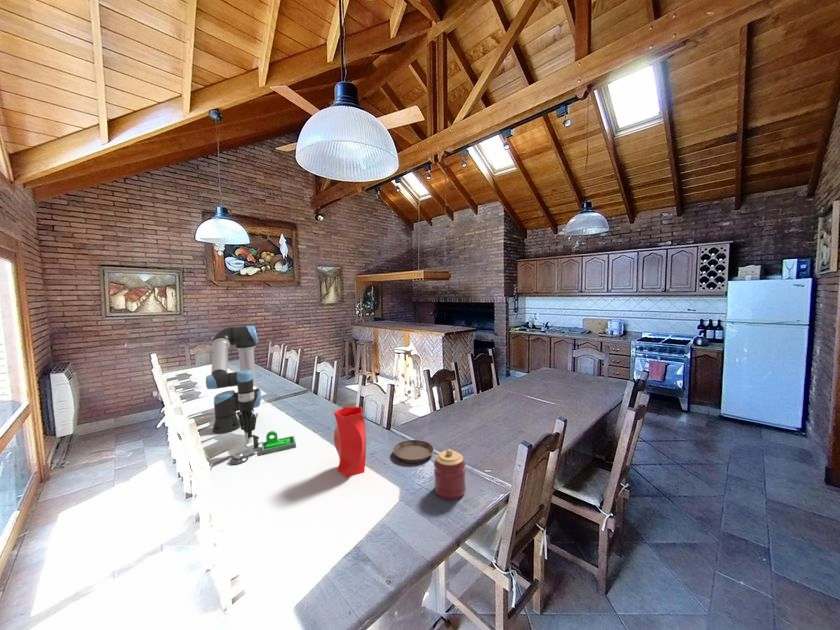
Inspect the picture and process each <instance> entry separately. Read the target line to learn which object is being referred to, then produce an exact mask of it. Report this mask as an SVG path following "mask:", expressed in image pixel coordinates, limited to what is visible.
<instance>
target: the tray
mask: <svg viewBox="0 0 840 630" xmlns="http://www.w3.org/2000/svg"><path fill="white" fill-rule="evenodd" d="M288 438H290V444H287V445H282V446H277V447H273V448H268V449H266V445H267V442H266V441H263V442H261V453H262V455H263V456H264V455H268V454H272V453H277V452H280V451H286V450H290V449H295V448H297V442H296V438H295V435H292V436H291V435H290V436H285V437H282V438H278V440H283V439H288Z"/></svg>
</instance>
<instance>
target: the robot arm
mask: <svg viewBox="0 0 840 630" xmlns="http://www.w3.org/2000/svg"><path fill="white" fill-rule="evenodd" d="M257 344H259V339H258V335H257V330H256V327H255V326H254V325H243V326H241V325H239V326H228V327H224V328H223V329H220V330H219V331H218V332H217V333H216V334H215V335H214V337H213V338H212V339H211V347H212V359H211V362H212V363H211V372H210V375H206V377H205V387H206V389H207V390H216V389H223V388H230V387H231V388H232V387H237V391H235V390H233V389H231V390H227V391H223V392H220V393H218V394H216V395H215V396H214V397H213V408H214V422H213V425H212V433H213V434H226V433H230V432H233V431H237V430H238V429H240V430H241V431H243V432H244V438H245V444H246V445H249V444H251V443H252V442H253V437H252V435H253V431H255V430H256V424H257V418H258V415H259V414H258V412H257V413H256V412H255V408H259V407H260V406H261V402H262V389H261V388H260V387H259V385H258V384H257V382H256V381H257V379H256V368H255V367H256V365H255V350H254V349H255V348H256V347H257ZM231 346H235V349H236V350H237V351H238V360H239V361H238V363H239V371H233V372H228V368H229V367H228V366H229V365H228V363H229V361H228V360H229V348H230V347H231Z"/></svg>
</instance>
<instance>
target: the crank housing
mask: <svg viewBox="0 0 840 630" xmlns="http://www.w3.org/2000/svg"><path fill="white" fill-rule="evenodd" d="M248 460H249V455H247V456H245V457H243V458H242V459H239V460H235V459H234V456H233V457H231V458H230V459H229V464H230V466H231V465H233V466H237V465H241V464H243V463H246V462H247V461H248Z"/></svg>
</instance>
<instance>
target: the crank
mask: <svg viewBox="0 0 840 630" xmlns="http://www.w3.org/2000/svg"><path fill="white" fill-rule="evenodd" d="M259 439H260V436H258V435H255V434H252V442H253V443H252V444H253V447H251V448H248V449H246V450H244V451H241V452H236V453H235V454H234V455H233V457H234V459H235V460H239V459H242V458H243V457H245V456H249V455H251V454H253V453H254V454H255V453H256V452H259V451H260V447H259Z"/></svg>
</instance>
